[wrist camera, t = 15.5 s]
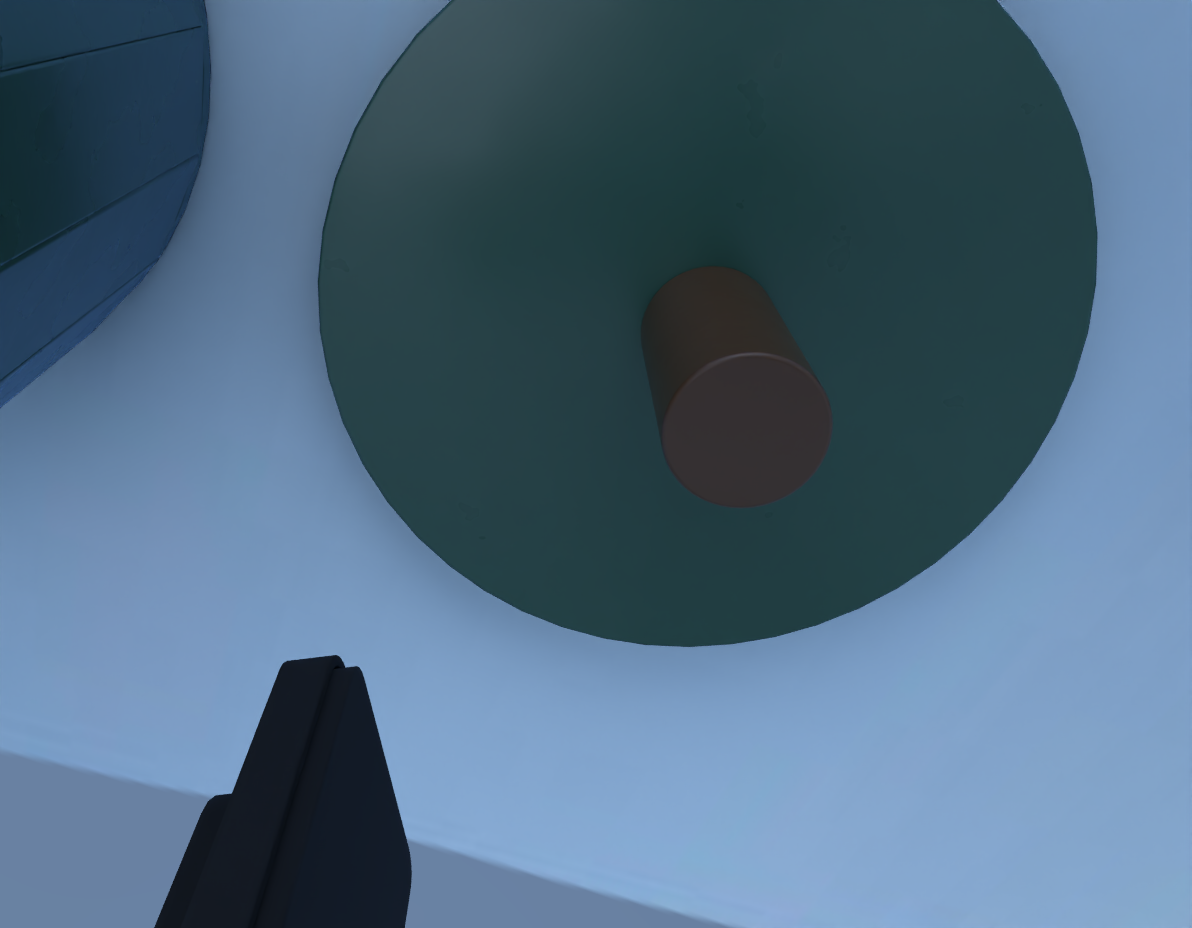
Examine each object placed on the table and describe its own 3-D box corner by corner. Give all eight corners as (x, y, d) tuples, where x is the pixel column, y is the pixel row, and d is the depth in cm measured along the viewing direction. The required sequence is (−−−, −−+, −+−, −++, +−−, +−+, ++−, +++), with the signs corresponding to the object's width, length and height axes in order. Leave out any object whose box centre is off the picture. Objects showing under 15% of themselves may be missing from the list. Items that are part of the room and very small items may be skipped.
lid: (1108, -162, 19) (1338, -207, 13) (1044, 578, 26) (1177, 753, 20) (240, -44, 19) (108, -40, 14) (411, 652, 26) (370, 843, 21)
